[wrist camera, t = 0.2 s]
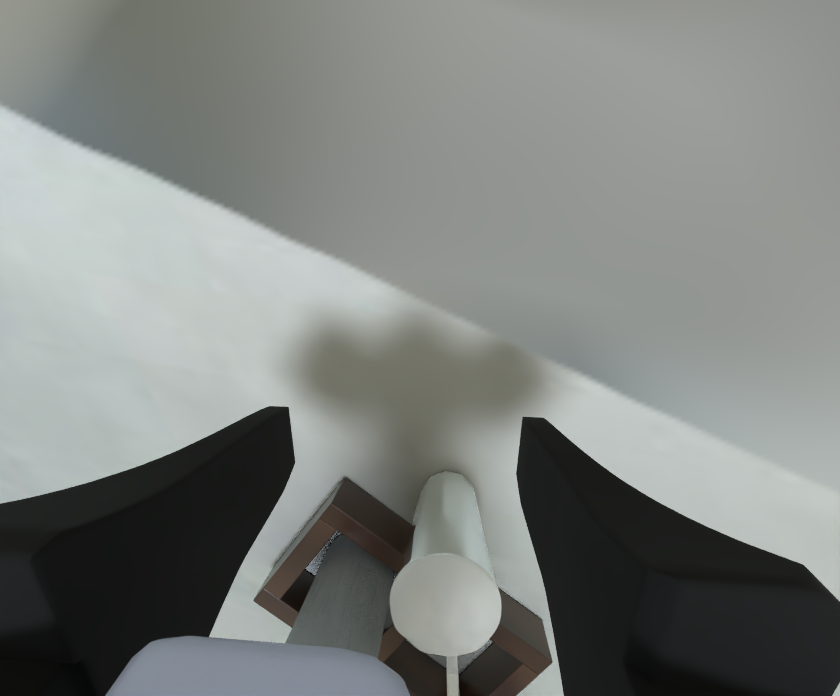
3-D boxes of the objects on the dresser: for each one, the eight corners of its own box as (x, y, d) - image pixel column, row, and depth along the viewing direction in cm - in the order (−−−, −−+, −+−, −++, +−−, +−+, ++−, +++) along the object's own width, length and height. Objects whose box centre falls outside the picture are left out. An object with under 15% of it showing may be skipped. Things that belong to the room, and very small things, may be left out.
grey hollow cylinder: (321, 580, 26) (236, 778, 16) (333, 521, 25) (252, 692, 15) (387, 598, 26) (345, 810, 16) (402, 539, 25) (367, 725, 15)
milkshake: (417, 542, 25) (393, 720, 15) (406, 463, 24) (372, 599, 14) (490, 537, 24) (515, 718, 15) (482, 457, 23) (502, 594, 14)
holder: (460, 697, 27) (461, 745, 24) (273, 566, 26) (252, 601, 23) (542, 619, 25) (553, 662, 22) (344, 476, 24) (331, 503, 22)
